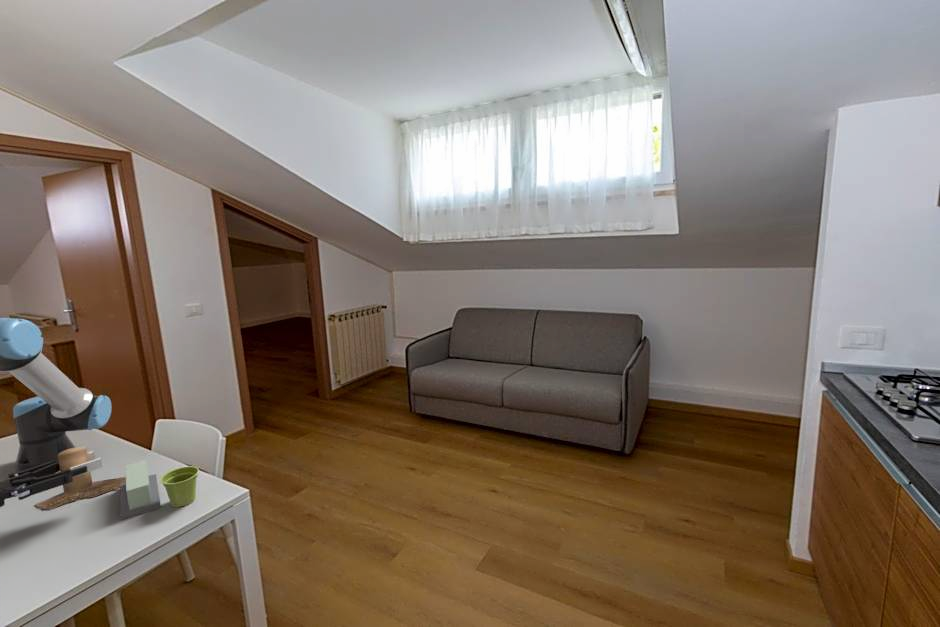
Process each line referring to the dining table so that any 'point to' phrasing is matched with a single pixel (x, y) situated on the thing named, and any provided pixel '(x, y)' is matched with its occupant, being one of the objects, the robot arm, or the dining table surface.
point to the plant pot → (181, 485)
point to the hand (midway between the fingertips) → (97, 459)
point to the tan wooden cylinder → (70, 460)
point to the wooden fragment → (82, 493)
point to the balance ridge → (138, 491)
